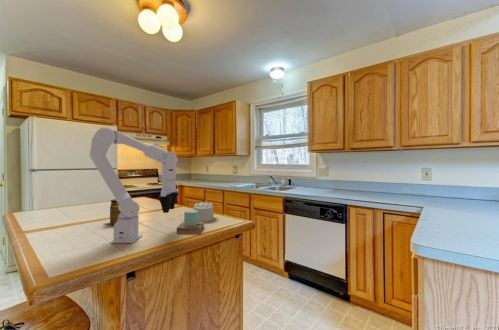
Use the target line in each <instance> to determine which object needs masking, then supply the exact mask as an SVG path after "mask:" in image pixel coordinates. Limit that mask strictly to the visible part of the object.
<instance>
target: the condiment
mask: <svg viewBox="0 0 499 330" xmlns="http://www.w3.org/2000/svg"><path fill="white" fill-rule="evenodd" d="M120 213H121V212H120V211H119V209H118V202H117V201H116V199H115V198H114V199H112V200H110V205H109V222H106V223H103V225H104V226H105V227H107V228H110V227H114V225H115V223H116V222H117V221H118V215H119V214H120Z"/></svg>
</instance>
